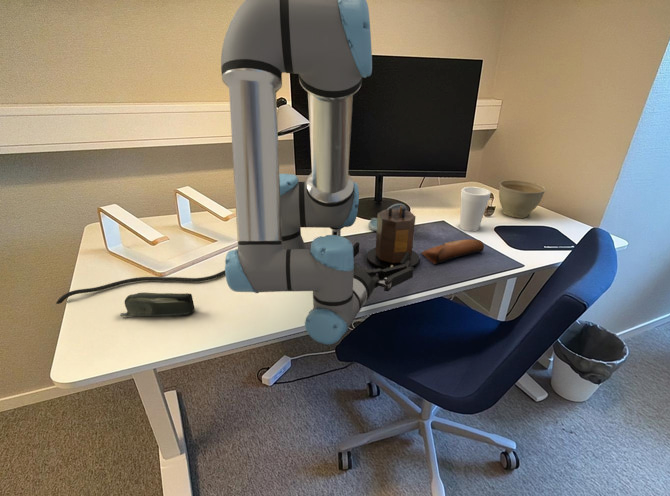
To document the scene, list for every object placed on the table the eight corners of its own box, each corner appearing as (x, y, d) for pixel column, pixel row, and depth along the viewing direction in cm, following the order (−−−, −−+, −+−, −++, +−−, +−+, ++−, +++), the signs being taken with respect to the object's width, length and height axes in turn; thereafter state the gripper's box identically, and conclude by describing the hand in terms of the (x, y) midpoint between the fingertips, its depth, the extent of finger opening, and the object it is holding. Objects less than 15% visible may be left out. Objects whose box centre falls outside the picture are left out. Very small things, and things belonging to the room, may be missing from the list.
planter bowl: (538, 224, 143) (546, 194, 137) (492, 217, 147) (499, 188, 141) (536, 210, 156) (544, 182, 150) (494, 204, 160) (500, 177, 154)
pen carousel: (372, 249, 115) (374, 201, 108) (402, 246, 118) (407, 199, 110) (383, 264, 108) (386, 213, 100) (415, 261, 110) (421, 211, 102)
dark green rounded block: (192, 290, 87) (118, 291, 85) (189, 297, 85) (113, 299, 82) (196, 309, 90) (124, 311, 87) (193, 316, 87) (119, 319, 85)
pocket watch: (384, 206, 121) (360, 192, 132) (382, 239, 127) (359, 222, 138) (411, 201, 125) (386, 188, 136) (407, 233, 131) (384, 218, 142)
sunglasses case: (464, 241, 126) (475, 228, 121) (475, 259, 124) (487, 246, 118) (419, 252, 118) (429, 239, 112) (431, 272, 115) (441, 259, 110)
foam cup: (488, 231, 136) (496, 194, 129) (465, 234, 133) (472, 196, 126) (472, 221, 143) (479, 185, 136) (450, 224, 140) (456, 187, 133)
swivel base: (380, 277, 105) (380, 271, 105) (358, 253, 117) (359, 248, 116) (428, 268, 111) (429, 263, 110) (403, 246, 122) (403, 242, 121)
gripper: (300, 294, 90) (337, 256, 107) (406, 318, 83) (428, 274, 100) (298, 264, 86) (337, 230, 103) (409, 288, 79) (431, 247, 96)
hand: (382, 251), depth 102 cm, fingers open, 13 cm apart
